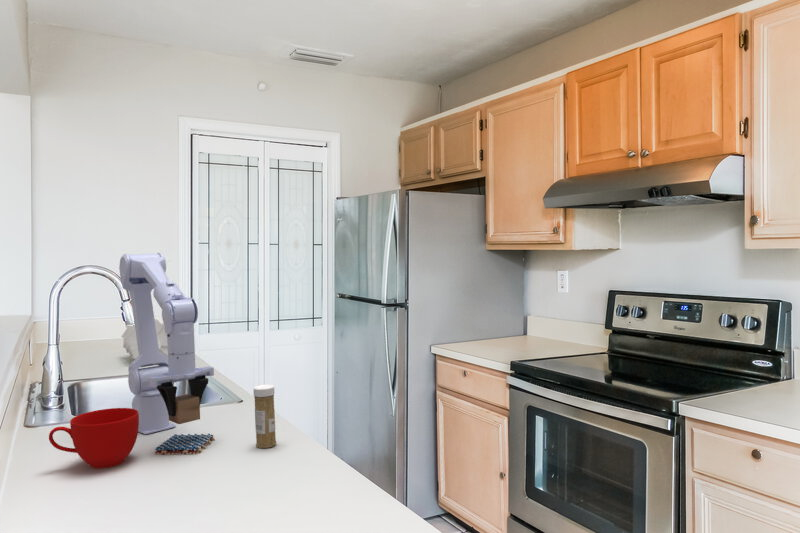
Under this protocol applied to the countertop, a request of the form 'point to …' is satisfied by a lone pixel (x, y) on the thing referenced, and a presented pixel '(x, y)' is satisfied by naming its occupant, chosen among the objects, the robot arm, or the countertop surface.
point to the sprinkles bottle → (264, 416)
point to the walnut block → (186, 409)
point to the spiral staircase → (131, 340)
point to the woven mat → (184, 444)
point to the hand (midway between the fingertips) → (183, 412)
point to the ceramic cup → (102, 436)
